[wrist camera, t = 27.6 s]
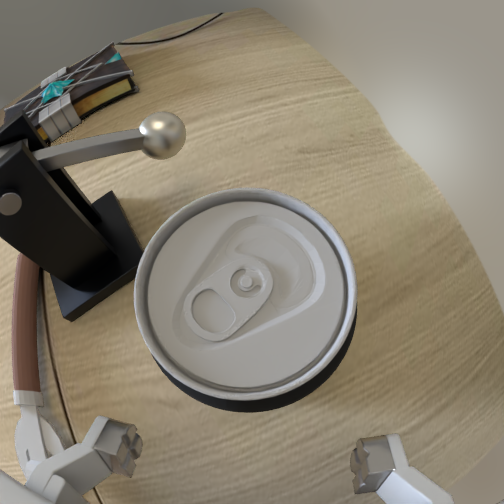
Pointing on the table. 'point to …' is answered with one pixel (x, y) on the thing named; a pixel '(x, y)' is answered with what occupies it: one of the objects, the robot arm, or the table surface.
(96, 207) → the black lever stand
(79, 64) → the book
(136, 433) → the robot arm
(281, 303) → the beverage can
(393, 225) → the table surface
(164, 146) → the lever
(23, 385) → the pizza cutter
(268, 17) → the table surface
